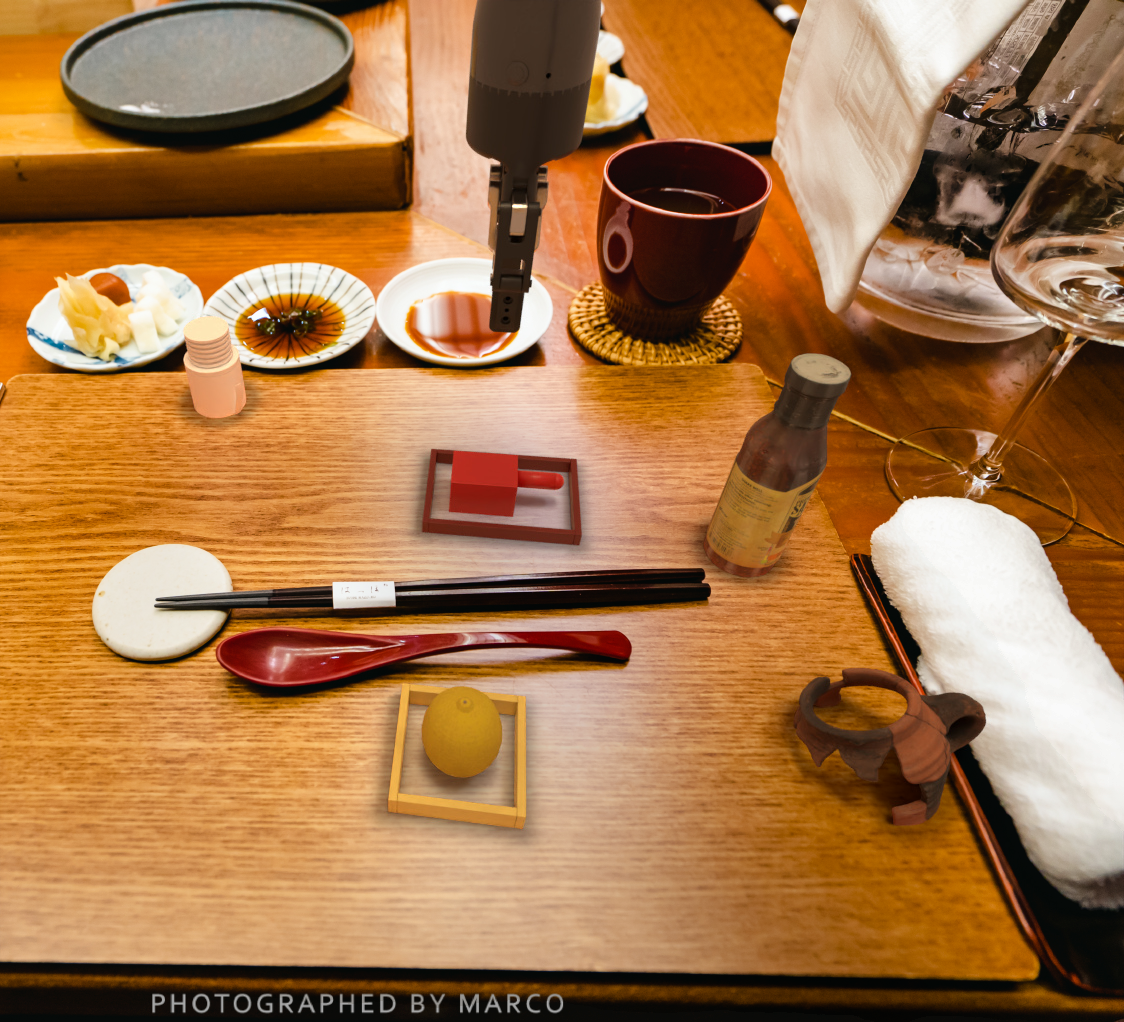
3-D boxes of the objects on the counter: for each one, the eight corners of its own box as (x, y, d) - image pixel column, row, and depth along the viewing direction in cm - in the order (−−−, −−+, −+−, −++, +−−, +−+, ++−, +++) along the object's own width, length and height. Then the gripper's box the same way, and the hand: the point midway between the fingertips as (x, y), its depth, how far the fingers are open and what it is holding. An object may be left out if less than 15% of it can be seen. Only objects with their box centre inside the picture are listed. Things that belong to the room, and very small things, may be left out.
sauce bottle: (773, 590, 68) (874, 406, 54) (697, 572, 70) (775, 389, 55) (775, 537, 72) (868, 353, 58) (702, 520, 74) (776, 338, 60)
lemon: (437, 714, 60) (441, 654, 54) (507, 742, 58) (519, 684, 53) (407, 777, 57) (409, 720, 51) (481, 809, 55) (491, 754, 49)
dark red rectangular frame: (573, 473, 79) (576, 458, 77) (578, 550, 72) (582, 535, 70) (430, 463, 81) (431, 448, 79) (421, 536, 74) (422, 521, 72)
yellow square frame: (522, 713, 60) (525, 696, 59) (521, 832, 54) (526, 817, 52) (402, 700, 62) (402, 682, 60) (388, 815, 55) (387, 799, 54)
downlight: (268, 405, 88) (257, 328, 81) (219, 436, 84) (203, 358, 77) (222, 377, 92) (208, 301, 85) (174, 405, 88) (154, 328, 81)
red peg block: (558, 488, 77) (564, 458, 74) (559, 521, 74) (566, 490, 71) (451, 480, 78) (453, 450, 75) (448, 512, 75) (450, 482, 72)
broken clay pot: (866, 860, 53) (846, 768, 50) (777, 770, 61) (756, 687, 59) (1034, 789, 52) (1024, 692, 50) (921, 709, 61) (906, 623, 58)
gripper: (601, 108, 44) (557, 355, 55) (587, 32, 53) (552, 255, 65) (464, 106, 44) (449, 349, 56) (474, 31, 54) (460, 251, 66)
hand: (504, 298), depth 61 cm, fingers open, 8 cm apart
